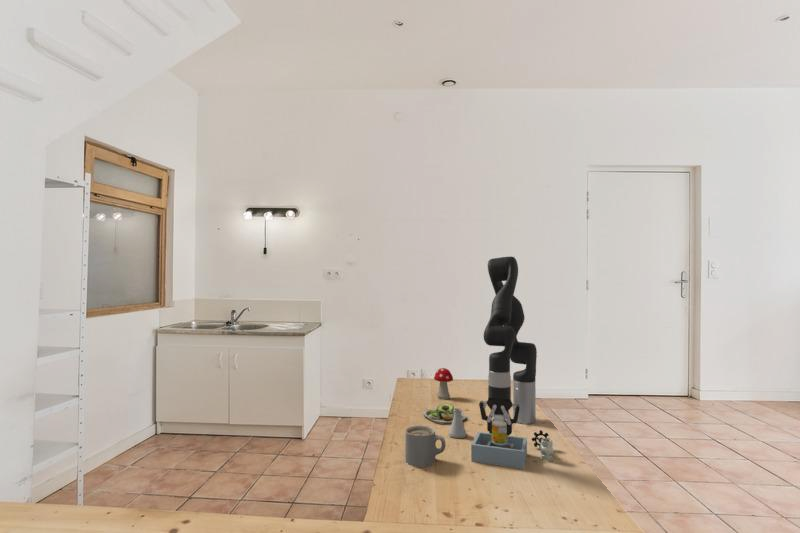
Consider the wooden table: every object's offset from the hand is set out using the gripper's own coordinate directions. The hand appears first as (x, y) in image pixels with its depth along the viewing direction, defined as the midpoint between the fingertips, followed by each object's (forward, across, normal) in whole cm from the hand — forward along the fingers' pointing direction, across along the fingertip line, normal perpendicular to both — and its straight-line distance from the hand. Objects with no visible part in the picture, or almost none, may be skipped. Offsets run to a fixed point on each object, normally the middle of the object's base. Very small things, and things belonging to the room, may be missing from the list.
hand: (499, 433), depth 152 cm
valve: (+8, -14, -8) cm, 18 cm away
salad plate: (+9, +28, -35) cm, 46 cm away
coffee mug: (+8, +23, +12) cm, 27 cm away
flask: (+8, +18, -15) cm, 25 cm away
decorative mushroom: (+8, +36, -64) cm, 74 cm away
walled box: (+8, 0, 0) cm, 8 cm away
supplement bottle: (+3, 0, 0) cm, 3 cm away
